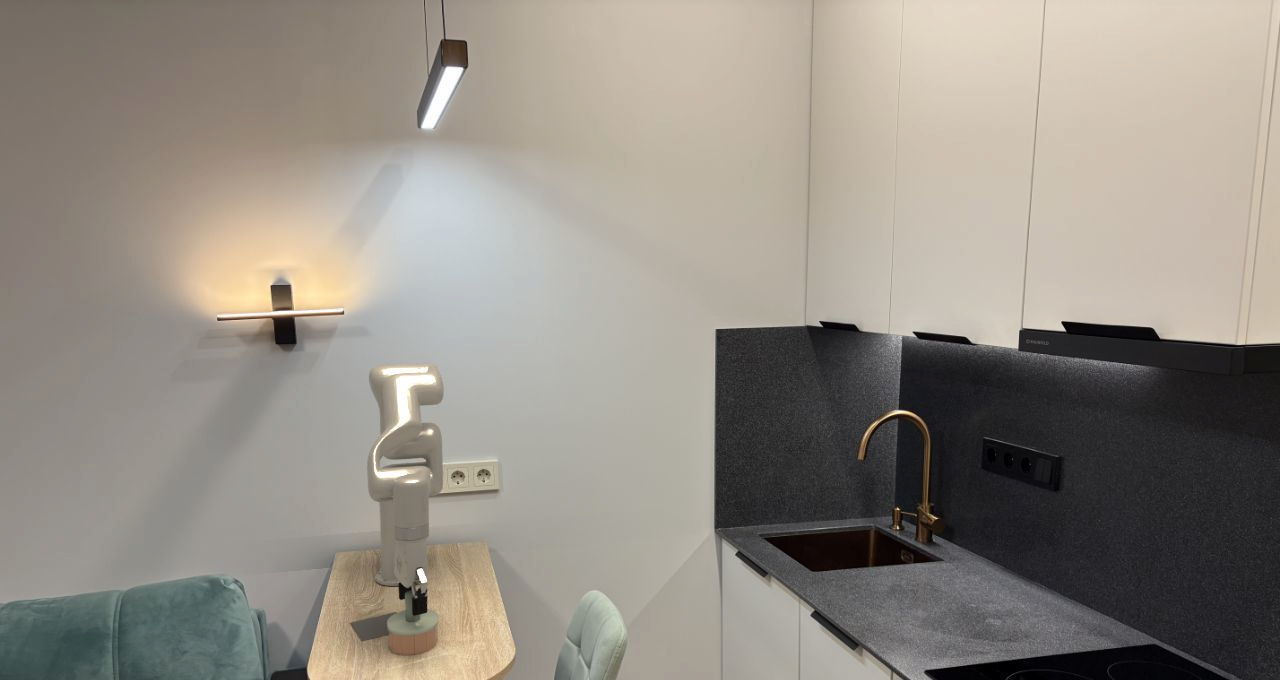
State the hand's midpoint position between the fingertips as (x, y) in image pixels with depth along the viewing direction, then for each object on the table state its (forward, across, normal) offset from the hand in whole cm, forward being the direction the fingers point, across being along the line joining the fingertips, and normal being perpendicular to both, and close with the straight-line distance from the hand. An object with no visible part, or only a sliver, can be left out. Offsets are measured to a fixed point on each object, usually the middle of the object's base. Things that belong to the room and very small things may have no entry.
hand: (412, 605), depth 172 cm
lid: (+4, 0, 0) cm, 4 cm away
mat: (+9, -13, -4) cm, 16 cm away
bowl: (+9, 0, 0) cm, 9 cm away
